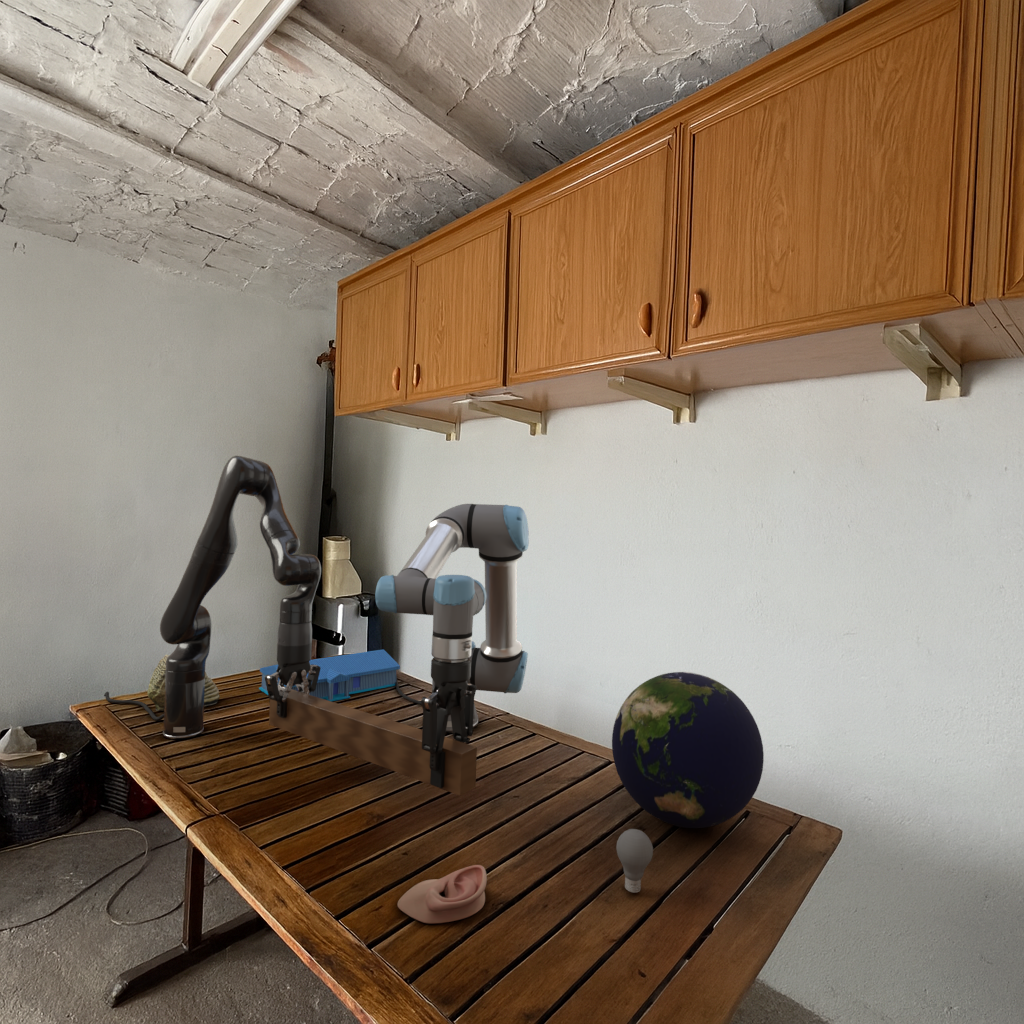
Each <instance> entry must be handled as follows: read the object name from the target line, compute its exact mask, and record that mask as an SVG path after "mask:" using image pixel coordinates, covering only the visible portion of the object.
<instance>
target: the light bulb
mask: <svg viewBox="0 0 1024 1024" xmlns="http://www.w3.org/2000/svg"><path fill="white" fill-rule="evenodd" d="M615 849H616V854H617V857H618V859H619V861H620V863H621V865H622V867H623V873H624V874H623V875H624V876H625V878H624V888H625V890H627V891H628V892H630V893H634V894H635V893H639V892H640V891H641V889H642V887H641V886H642V879H643V877H644V875H645V871H646V868H647V867H648V866H649V864H650V863H651V861H652V859H653V855H654V847H653V843H652V841H651V838H649V836H648V835H647V834H646V833H645V832H643V831H642V830H641V829H636V828H629V829H627V830H625V831H623V832H622V833H621V834H620V835H619V837H618V839H617V841H616V847H615Z"/></svg>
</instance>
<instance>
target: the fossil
mask: <svg viewBox="0 0 1024 1024" xmlns="http://www.w3.org/2000/svg"><path fill="white" fill-rule="evenodd" d="M170 655H171V654H165V655H164V656H163V657H162V658H161V659H160V660H159V662H158V663H157V666H156V667H155V669H154V670H153V672H152V675H151V677H150V680H149V684H148V688H147V697H148V699H149V700H150V701H152V703H153V704H154V706H155V711H158V712H159V711H162V712H163V711H164V705H165V674H166V660H167V658H168V656H170ZM220 698H221V696H220V690H219V688H218V686H217V685H216V683H215V682H214V681H213V679H212V678H211V677H209V675H208V674H207V672H206V671H205V693H204V707H207V706H213V705H215V704H217V703H218V701H219V699H220Z"/></svg>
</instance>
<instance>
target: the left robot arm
mask: <svg viewBox="0 0 1024 1024" xmlns="http://www.w3.org/2000/svg"><path fill="white" fill-rule="evenodd" d="M218 480H219V481H218V484H217V487H216V491H215V494H214V497H213V501H212V504H211V506H210V509H209V512H208V515H207V518H206V520H205V522H204V525H203V527H202V529H201V532H200V534H199V536H198V539H197V541H196V543H195V546H194V548H193V550H192V553H191V556H190V559H189V561H188V564H187V566H186V568H185V570H184V573H183V575H182V578H181V579H180V581H179V584H178V587H177V589H176V591H175V592H174V594H173V595H172V598H171V600H170V602H169V603H168V605H167V607H166V609H165V610H164V613H163V615H162V617H161V620H160V623H159V632H160V637H161V638H162V641H164V642H165V643H167V644H169V645H173V646H174V645H176V647H175V649H174V650H173V652H171V653H170V654H169V655H170V656H168V658H167V660H166V674H165V705H164V710H163V713H162V714H160V715H159V716H157V715H156V714H155V713H154V711H153V710H152V709H151V708H150V707H149V706H148V704H146V703H145V702H143V701H140V700H133V699H113V698H111V697H110V692H109V691H105V693H104V695H103V697H105V700H106V701H107V702H109V703H111V704H125V705H126V704H127V705H129V704H130V705H137V706H140V707H142V708H143V709H144V710H145V711H146V712H147V713H148V715H149V716H150V717H151V719H152V720H154V721H157V722H159V721H161V720H162V719H163V731H162V737H164V738H166V739H169V740H185V739H190V738H191V739H192V738H194V737H197V736H199V735H202V734H203V732H204V730H205V729H204V722H205V721H204V718H205V706H204V693H205V672H206V664H207V663H206V662H207V658H208V656H209V654H210V649H211V639H212V617H211V614H210V612H209V610H208V609H207V608H206V607H205V606H203V605H201V604H202V602H203V601H204V598H205V597H206V596H207V595H208V593H209V592H210V591H211V590H212V588H214V586H215V585H216V584H217V583H218V582H219V581H220V580H221V579H222V577H224V575H225V573H226V572H227V570H228V569H229V567H230V565H231V563H232V561H233V558H234V555H235V553H236V551H237V548H238V535H237V530H236V525H235V521H234V520H235V519H234V511H235V510H234V509H235V505H236V502H237V500H238V497H239V495H245V496H251V497H255V498H256V500H257V501H258V502H259V503H260V505H261V507H262V512H261V515H260V519H259V529H260V534H261V537H262V538H263V540H264V542H265V544H266V546H267V548H268V550H269V554H270V561H271V571H272V576H273V579H274V581H276V582H277V583H278V584H279V585H281V586H284V587H291V586H297V587H296V589H295V591H294V592H292V593H290V594H287V595H285V596H283V597H282V598H281V599H280V601H279V620H278V628H277V644H276V645H277V647H276V663H277V665H278V668H277V670H276V673H274V674H272V675H266V676H265V682H266V686H267V691H268V695H267V696H268V699H269V700H270V699H272V700H274V701H277V715H278V716H279V717H280V718H286V716H287V702H286V700H287V697H288V694H289V692H290V691H291V689H292V686H294V685H296V686H297V688H298V691H299V692H302V693H305V694H309V693H310V692H314V691H315V689H316V685H317V681H318V677H319V673H320V669H321V667H320V666H317V665H313V664H312V665H310V662H309V661H310V660H312V650H313V649H312V645H313V625H312V615H313V611H312V610H313V602H314V599H315V595H316V591H317V589H318V587H319V582H320V580H321V575H322V565H321V562H320V560H319V558H318V557H317V556H316V555H314V554H311V553H302V554H301V553H300V554H295V553H296V552H298V551H299V549H300V546H301V541H300V538H299V536H298V534H297V532H296V530H295V529H294V527H293V525H292V523H291V521H290V519H289V518H288V515H287V513H286V510H285V507H284V503H283V501H282V496H281V494H280V490H279V486H278V483H277V479H276V476H275V474H274V471H273V469H272V468H271V466H270V465H269V463H266V462H264V461H261V460H258V459H254V458H250V457H246V456H243V455H234V456H232V457H230V458H229V459H228V460H227V462H226V463H225V464H224V466H223V469H222V471H221V474H220V476H219V479H218ZM307 674H308V677H307ZM278 678H279V679H280V680H279V684H278V685H277V683H278ZM311 682H312V684H311ZM284 685H286V687H284ZM282 694H283V695H282Z"/></svg>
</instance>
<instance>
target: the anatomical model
mask: <svg viewBox="0 0 1024 1024" xmlns="http://www.w3.org/2000/svg"><path fill="white" fill-rule="evenodd" d="M487 883H488V876H487V871H486V868H485V867H484V866H483V865H481V864H473V865H470V866H466V867H462V868H460V869H458V870H455V871H453V872H451V873H449V874H447V875H445V876H442V877H441V878H438V879H435V878H434V879H433V878H432V879H427V880H423V881H421V882H418V883H416V884H415V885H413V886H412V887H411V888H410V889H408V890H407V891H406V892H405V893H404V894H403V895H402V896H401V897H400V898H399V900H398V901H397V903H396V904H397V908H398V909H399V910H400V911H402V913H404V914H405V915H407V916H409V917H410V918H412V919H414V920H416V921H418V922H421V923H424V924H431V925H432V924H443V923H449V922H454V921H459V920H463V919H466V918H469V917H471V916H473V915H475V914H477V913H478V912H479V911H481V910H482V908H483V907H484V905H485V902H486V893H485V890H486V887H487Z"/></svg>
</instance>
